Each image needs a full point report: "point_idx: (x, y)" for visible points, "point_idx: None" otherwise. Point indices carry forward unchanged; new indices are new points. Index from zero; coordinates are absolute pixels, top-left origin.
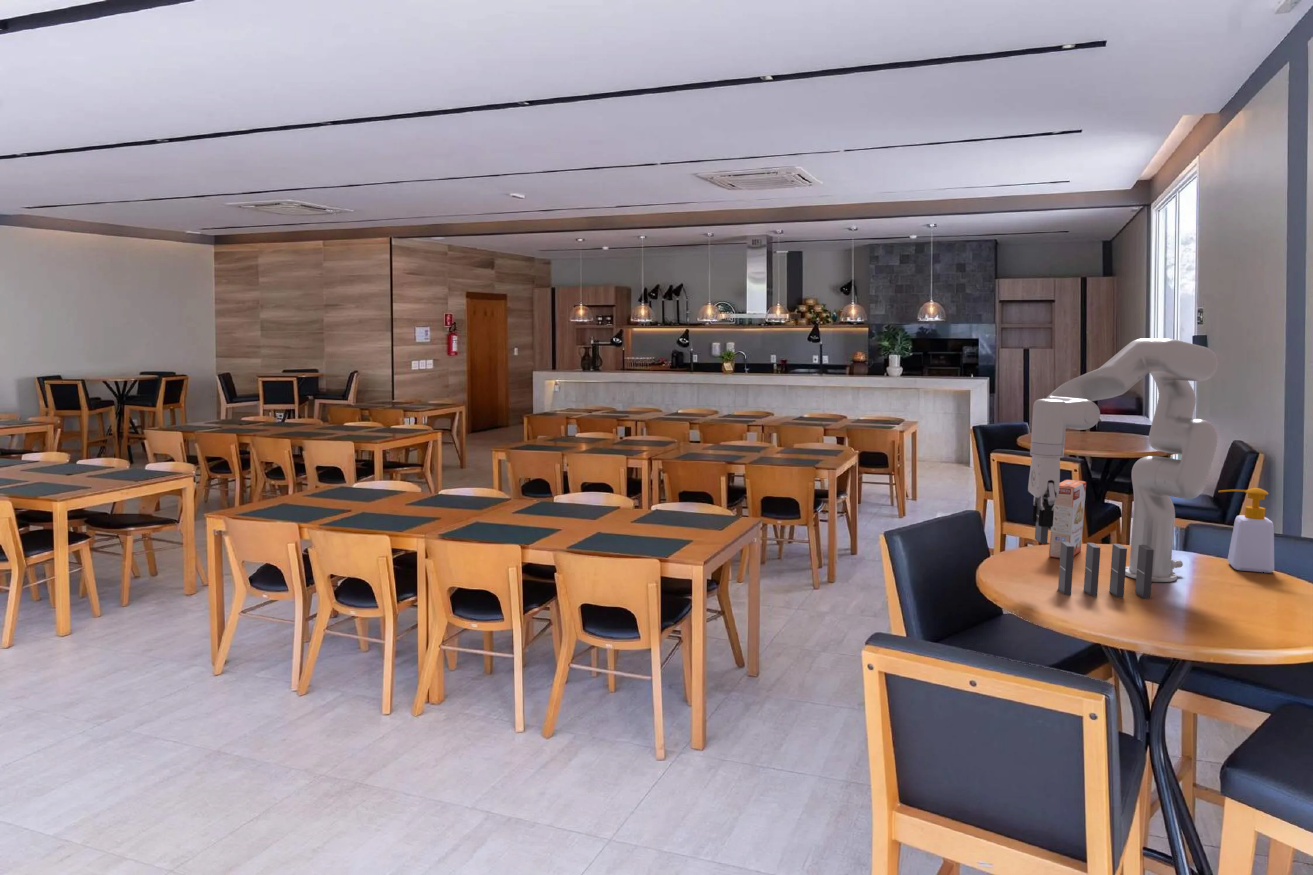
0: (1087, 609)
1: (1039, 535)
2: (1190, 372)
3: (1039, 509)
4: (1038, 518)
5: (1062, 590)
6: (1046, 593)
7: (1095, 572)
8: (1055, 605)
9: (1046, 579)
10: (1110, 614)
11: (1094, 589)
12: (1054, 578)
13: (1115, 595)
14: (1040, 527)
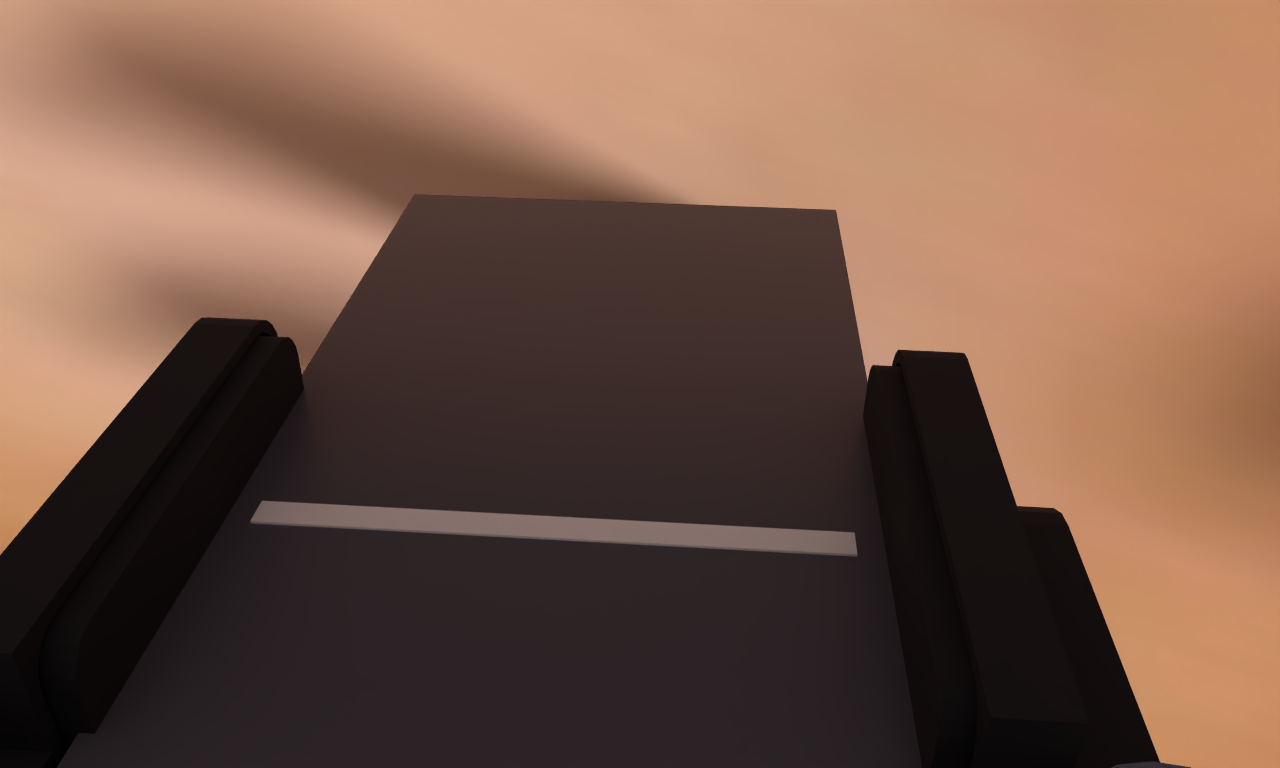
0: (124, 280)
1: (484, 257)
2: None
3: (520, 719)
4: (614, 485)
5: None
6: (583, 74)
7: None
8: (142, 30)
9: (1157, 246)
10: (50, 402)
11: None
12: (1191, 335)
13: None
14: (389, 353)
